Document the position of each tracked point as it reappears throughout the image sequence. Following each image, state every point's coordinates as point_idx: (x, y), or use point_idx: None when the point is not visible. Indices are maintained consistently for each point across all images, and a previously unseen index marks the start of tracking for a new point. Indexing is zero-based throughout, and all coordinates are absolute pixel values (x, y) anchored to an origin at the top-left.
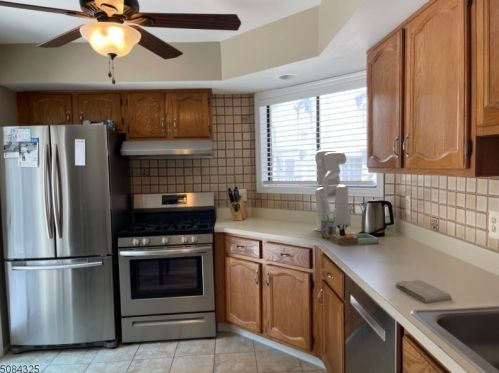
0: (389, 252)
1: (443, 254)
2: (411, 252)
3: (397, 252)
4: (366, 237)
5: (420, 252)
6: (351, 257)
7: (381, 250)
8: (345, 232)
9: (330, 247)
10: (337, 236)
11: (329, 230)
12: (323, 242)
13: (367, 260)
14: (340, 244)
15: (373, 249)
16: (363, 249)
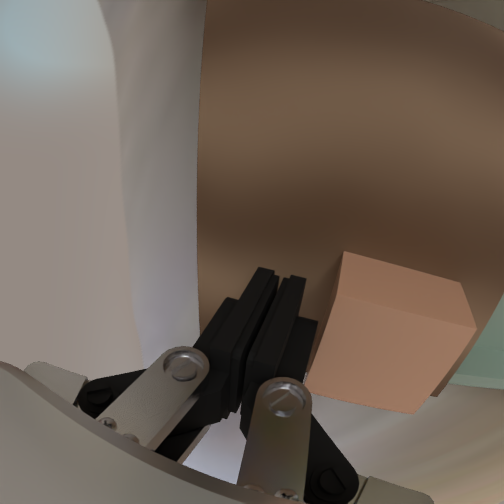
0: (400, 481)
1: (497, 500)
2: (463, 489)
3: (426, 485)
4: None
5: (483, 490)
6: (195, 448)
7: (404, 464)
8: (363, 324)
9: (141, 303)
10: (237, 218)
11: None
12: (128, 112)
13: (235, 479)
14: None
15: (388, 449)
16: (336, 433)
